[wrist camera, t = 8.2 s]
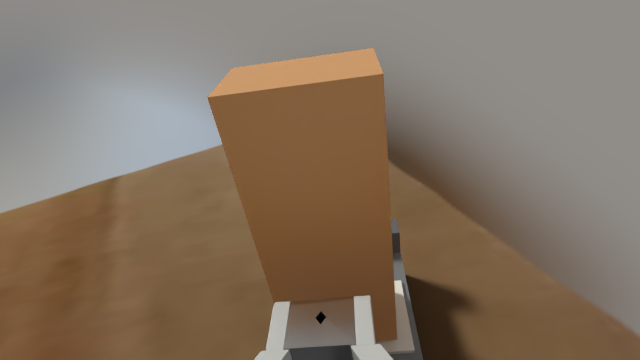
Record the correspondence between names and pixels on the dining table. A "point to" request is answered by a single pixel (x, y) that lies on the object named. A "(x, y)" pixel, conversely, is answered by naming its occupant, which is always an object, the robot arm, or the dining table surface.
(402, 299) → the switch track
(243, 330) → the dining table surface
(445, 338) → the dining table surface
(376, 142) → the switch tab
